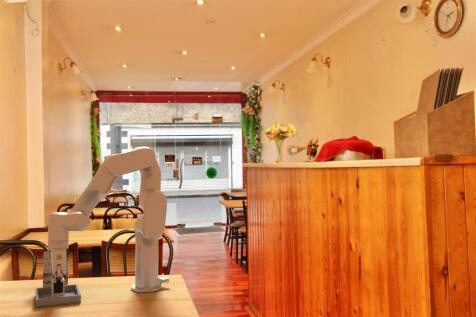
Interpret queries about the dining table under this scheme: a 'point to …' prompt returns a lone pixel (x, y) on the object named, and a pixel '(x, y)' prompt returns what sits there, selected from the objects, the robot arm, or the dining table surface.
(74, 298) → the tray
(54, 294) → the cream rectangular block
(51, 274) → the coffee box
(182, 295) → the dining table surface
